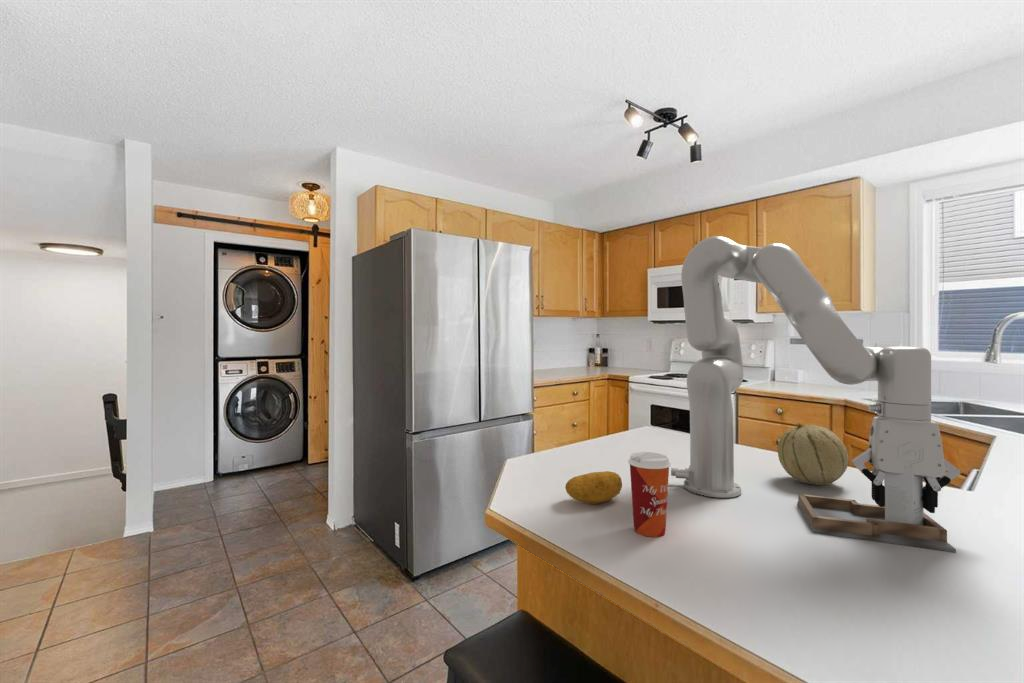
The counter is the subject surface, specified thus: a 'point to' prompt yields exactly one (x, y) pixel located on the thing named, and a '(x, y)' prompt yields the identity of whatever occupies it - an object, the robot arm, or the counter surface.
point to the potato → (594, 487)
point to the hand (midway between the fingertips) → (903, 506)
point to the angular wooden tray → (869, 523)
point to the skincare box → (904, 497)
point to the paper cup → (649, 492)
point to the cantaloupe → (812, 454)
